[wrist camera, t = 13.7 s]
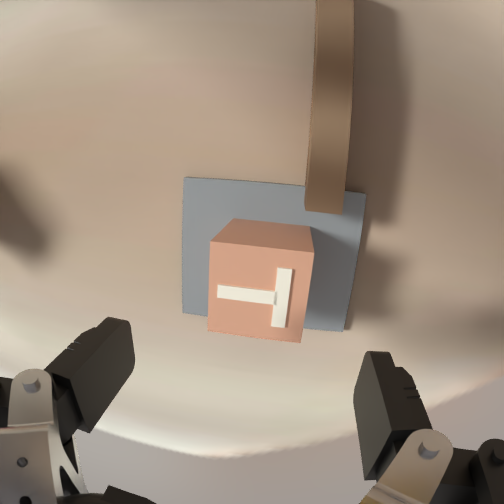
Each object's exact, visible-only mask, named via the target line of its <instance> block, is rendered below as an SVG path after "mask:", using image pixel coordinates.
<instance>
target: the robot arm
mask: <svg viewBox="0 0 504 504" xmlns="http://www.w3.org/2000/svg"><path fill="white" fill-rule="evenodd" d="M134 365H135V354H134V347H133V340H132V333H131V326H130V323H129V322H128V321H126V320H122V319H117V318H112V317H107V318H106V319H105V320H104V321H103V322H102V323H100V324H99V325H98V326H97V327H96V328H95V327H94V328H92V329H90V330H88V331H85V332H83V333H82V334H81V335H80V336H79V337H77V338H76V339H75V340H74V343H71V344H70V345H69V346H68V347H67V349H65V350H64V351H63V352H62V353H61V354H60V355H58V356H57V357H56V358H55V359H54V360H53V361H52V362H51V363H50V364H49V365H48V366H47V367H46V368H45V369H44V370H41V369H28V370H25V371H23V372H21V373H19V374H18V375H16V376H15V378H14V379H11V378H4V377H0V504H156V503H154V502H152V501H150V500H148V499H147V498H144V497H141V496H138V495H135V494H132V493H129V492H126V491H123V490H121V489H118V488H115V487H112V486H108V487H107V489H106V491H105V493H104V494H98V493H89V492H88V490H87V488H86V485H85V483H84V479H83V475H82V470H81V466H80V461H79V456H78V451H77V445H76V440H75V436H74V432H75V431H76V430H77V429H80V430H82V431H85V432H87V433H90V432H91V431H92V429H93V428H94V426H95V425H96V423H97V422H98V421H99V419H100V418H101V416H102V415H103V413H104V412H105V410H106V409H107V408H108V406H109V405H110V403H111V402H112V400H113V399H114V397H115V396H116V395H117V393H118V392H119V390H120V389H121V387H122V386H123V385H124V383H125V382H126V380H127V379H128V377H129V376H130V375H131V373H132V371H133V369H134ZM353 404H354V410H355V416H356V423H357V429H358V436H359V442H360V450H361V457H362V464H363V473H364V480H376V481H377V483H376V485H375V486H373V487H372V488H371V490H370V491H369V492H368V493H367V495H366V496H365V497H364V498H363V500H362V501H361V502H360V503H359V504H504V441H503V440H500V439H490V440H487V441H485V442H484V443H483V444H482V445H481V446H480V448H479V449H478V451H474V450H466V449H458V448H453V446H452V444H451V442H450V440H449V439H448V438H447V437H446V436H445V435H444V434H442V433H440V432H439V431H436V430H433V429H432V426H431V423H430V421H429V418H428V415H427V413H426V410H425V408H424V405H423V403H422V400H421V398H420V395H419V393H418V390H416V385H415V383H414V381H413V378H412V376H411V375H410V374H409V373H408V372H407V371H406V370H405V369H404V368H403V367H395V365H394V362H393V359H392V357H391V354H390V353H389V352H378V351H367V352H366V353H365V356H364V359H363V362H362V366H361V369H360V372H359V376H358V379H357V382H356V385H355V389H354V397H353Z"/></svg>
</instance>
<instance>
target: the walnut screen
mask: <svg viewBox="0 0 504 504" xmlns="http://www.w3.org/2000/svg"><path fill="white" fill-rule="evenodd" d="M353 62H354V0H316V22H315V50H314V71H313V89H312V105H311V120H310V134H309V147H308V159H307V171H306V182H305V196H304V206H305V211H311V212H320V213H329V214H338V215H342V210H343V201H344V192H345V183H346V173H347V163H348V152H349V139H350V126H351V110H352V91H353Z"/></svg>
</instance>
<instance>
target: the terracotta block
mask: <svg viewBox="0 0 504 504" xmlns="http://www.w3.org/2000/svg"><path fill="white" fill-rule="evenodd" d="M313 259H314V248H313V242H312V236H311V231H310V226H304V225H295V224H285V223H276V222H266V221H257V220H247V219H236V218H233V219H232V220H231V221H230V222H229V223H228V224H227V225H226V226H225V227H224V228H223V229H222V230H221V231H220V232H219V233H218V234H217V235H216V236H215V237H214V238H213V239H212V240H211V241H210V258H209V291H208V331H212V332H219V333H225V334H232V335H239V336H246V337H254V338H261V339H269V340H278V341H287V342H296V343H301V337H302V331H303V325H304V319H305V313H306V307H307V300H308V294H309V287H310V280H311V274H312V266H313Z"/></svg>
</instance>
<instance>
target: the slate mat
mask: <svg viewBox="0 0 504 504" xmlns="http://www.w3.org/2000/svg"><path fill="white" fill-rule="evenodd" d="M304 196H305V186H300V185H290V184H280V183H269V182H257V181H244V180H230V179H214V178H196V177H185V178H184V186H183V221H182V303H183V313H187V314H194V315H200V316H207V317H208V291H209V258H210V241H211V240H212V239H213V238H214V237H215V236H216V235H217V234H218V233H219V232H220V231H221V230H222V229H223V228H224V227H225V226H226V225H227V224H228V223H229V222H230V221H231V220H232V219H233V218H236V219H247V220H257V221H266V222H276V223H285V224H295V225H304V226H310V231H311V236H312V242H313V248H314V259H313V266H312V274H311V280H310V287H309V294H308V300H307V307H306V313H305V319H304V325H303V328H305V329H315V330H326V331H338V332H343V329H344V325H345V320H346V315H347V311H348V306H349V301H350V296H351V291H352V285H353V280H354V274H355V269H356V263H357V257H358V251H359V245H360V238H361V232H362V225H363V218H364V210H365V202H366V194H365V193H359V192H352V191H345V192H344V201H343V210H342V215H338V214H329V213H320V212H311V211H305V206H304Z"/></svg>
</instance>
